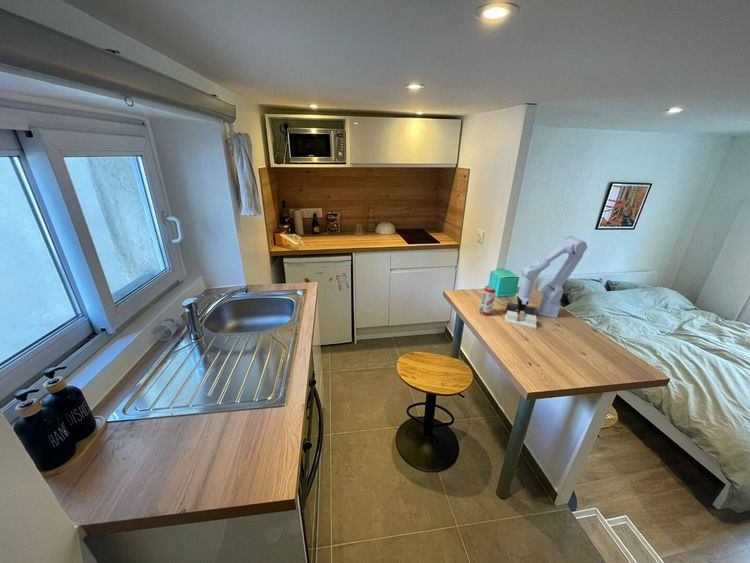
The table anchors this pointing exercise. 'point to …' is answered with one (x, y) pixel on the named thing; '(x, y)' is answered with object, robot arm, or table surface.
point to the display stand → (521, 319)
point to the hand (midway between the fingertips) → (519, 309)
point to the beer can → (487, 300)
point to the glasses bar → (513, 308)
